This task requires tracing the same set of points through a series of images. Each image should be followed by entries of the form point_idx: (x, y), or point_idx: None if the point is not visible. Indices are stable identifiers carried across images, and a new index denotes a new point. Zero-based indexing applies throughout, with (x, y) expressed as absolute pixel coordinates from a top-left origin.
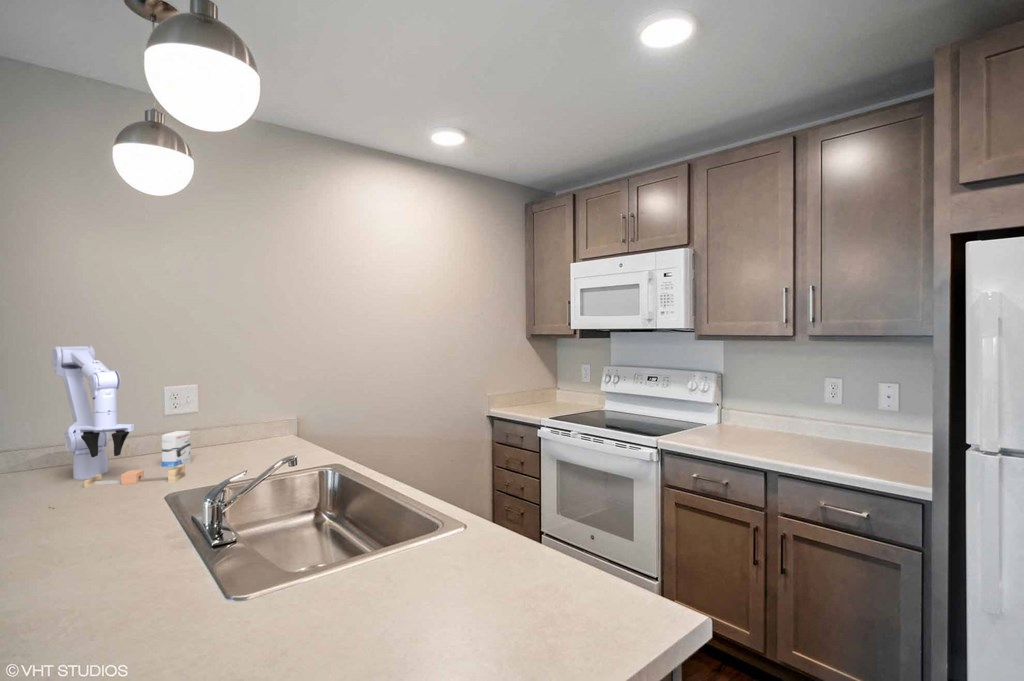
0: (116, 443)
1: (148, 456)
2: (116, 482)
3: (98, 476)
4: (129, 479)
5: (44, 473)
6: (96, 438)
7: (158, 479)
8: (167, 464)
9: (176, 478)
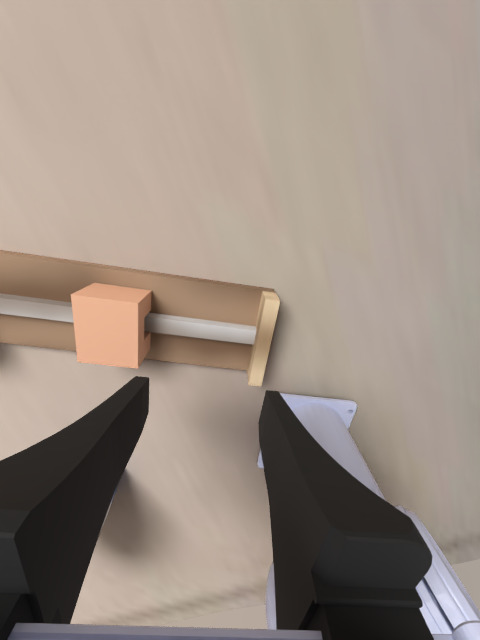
0: (75, 431)
1: (222, 579)
2: (178, 318)
3: (252, 364)
4: (112, 290)
5: (427, 509)
6: (281, 548)
7: (17, 297)
8: None
9: None
